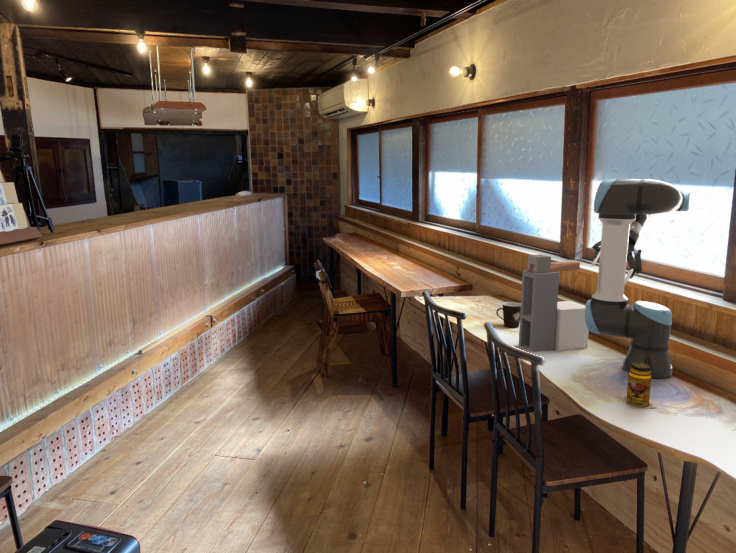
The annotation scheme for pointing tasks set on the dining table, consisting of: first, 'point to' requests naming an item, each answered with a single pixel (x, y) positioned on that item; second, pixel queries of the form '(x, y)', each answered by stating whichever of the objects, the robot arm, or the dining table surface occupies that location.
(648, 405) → the condiment
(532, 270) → the grey mallet
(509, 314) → the coffee mug
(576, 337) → the block
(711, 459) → the dining table surface
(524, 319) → the stand
